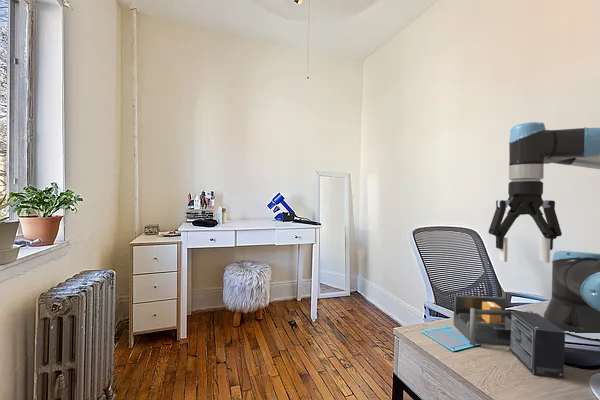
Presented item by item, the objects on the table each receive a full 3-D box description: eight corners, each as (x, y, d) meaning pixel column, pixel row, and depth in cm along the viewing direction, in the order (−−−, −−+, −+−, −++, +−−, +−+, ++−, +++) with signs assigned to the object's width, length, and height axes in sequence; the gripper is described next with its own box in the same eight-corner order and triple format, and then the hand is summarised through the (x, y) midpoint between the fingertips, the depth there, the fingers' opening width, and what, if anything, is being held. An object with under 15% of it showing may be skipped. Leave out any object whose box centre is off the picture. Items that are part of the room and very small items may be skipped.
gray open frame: (529, 347, 76) (530, 310, 75) (532, 349, 74) (533, 312, 74) (468, 343, 77) (469, 308, 77) (470, 346, 76) (471, 309, 76)
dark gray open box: (502, 327, 87) (503, 297, 86) (525, 345, 76) (526, 311, 76) (452, 324, 88) (453, 295, 88) (469, 342, 78) (469, 309, 77)
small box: (566, 379, 63) (568, 332, 62) (532, 375, 64) (533, 329, 64) (537, 352, 73) (538, 312, 73) (508, 349, 74) (509, 309, 74)
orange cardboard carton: (492, 318, 83) (493, 301, 83) (501, 324, 79) (501, 306, 79) (481, 318, 83) (482, 300, 83) (489, 324, 79) (489, 306, 79)
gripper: (559, 181, 81) (557, 258, 82) (475, 181, 84) (473, 256, 84) (582, 180, 74) (579, 265, 75) (489, 180, 76) (487, 263, 77)
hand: (523, 261), depth 80 cm, fingers open, 10 cm apart
